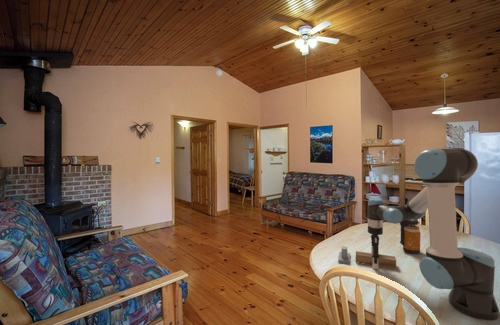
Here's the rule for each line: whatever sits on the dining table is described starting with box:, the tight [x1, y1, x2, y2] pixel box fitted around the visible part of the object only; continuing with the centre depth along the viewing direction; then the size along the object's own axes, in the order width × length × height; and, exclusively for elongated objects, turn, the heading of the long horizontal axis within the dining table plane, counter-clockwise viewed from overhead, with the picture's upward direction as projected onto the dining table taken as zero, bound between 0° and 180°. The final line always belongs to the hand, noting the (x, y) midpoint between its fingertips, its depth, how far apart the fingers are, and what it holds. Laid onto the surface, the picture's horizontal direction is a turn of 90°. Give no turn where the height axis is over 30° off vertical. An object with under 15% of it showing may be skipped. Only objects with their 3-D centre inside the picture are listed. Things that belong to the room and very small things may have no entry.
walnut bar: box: [355, 250, 397, 270], centre depth 138 cm, size 5×20×5 cm, turn 66°
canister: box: [399, 220, 422, 254], centre depth 153 cm, size 9×11×20 cm
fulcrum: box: [337, 245, 351, 265], centre depth 144 cm, size 12×6×7 cm, turn 156°
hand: (374, 263), depth 138 cm, fingers open, 13 cm apart
